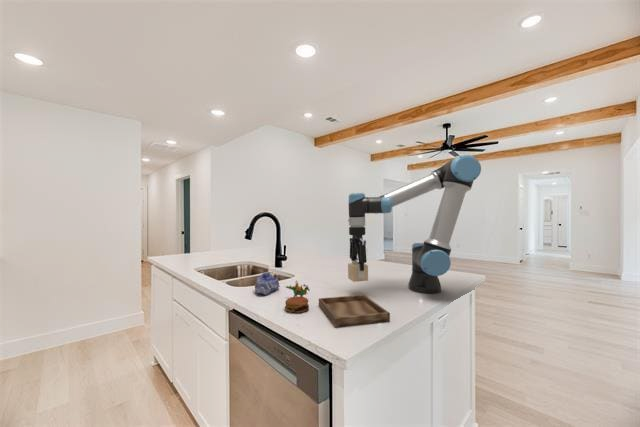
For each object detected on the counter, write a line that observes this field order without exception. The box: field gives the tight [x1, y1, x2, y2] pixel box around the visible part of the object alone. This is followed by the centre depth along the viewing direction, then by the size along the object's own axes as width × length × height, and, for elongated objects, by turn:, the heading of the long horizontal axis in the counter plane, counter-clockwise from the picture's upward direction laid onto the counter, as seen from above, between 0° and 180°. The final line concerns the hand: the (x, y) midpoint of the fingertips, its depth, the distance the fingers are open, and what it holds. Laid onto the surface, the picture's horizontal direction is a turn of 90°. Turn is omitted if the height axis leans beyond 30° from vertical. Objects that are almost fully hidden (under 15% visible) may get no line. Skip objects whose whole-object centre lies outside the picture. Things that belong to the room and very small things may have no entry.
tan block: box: [347, 262, 369, 283], centre depth 126 cm, size 7×7×7 cm
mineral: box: [254, 271, 280, 295], centre depth 130 cm, size 14×10×10 cm
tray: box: [318, 294, 391, 329], centre depth 103 cm, size 20×22×3 cm
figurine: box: [285, 280, 310, 297], centre depth 120 cm, size 3×12×8 cm, turn 69°
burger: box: [284, 296, 310, 314], centre depth 107 cm, size 10×9×5 cm
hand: (357, 275), depth 126 cm, fingers closed on tan block, 7 cm apart
